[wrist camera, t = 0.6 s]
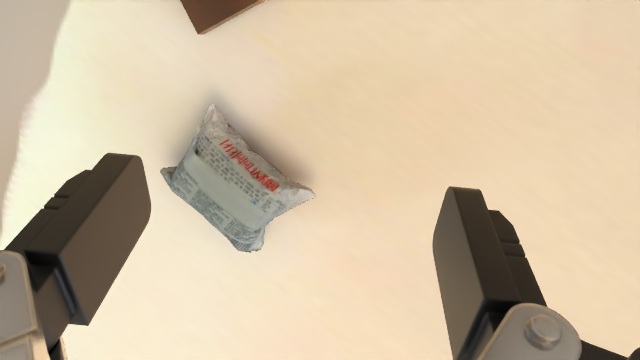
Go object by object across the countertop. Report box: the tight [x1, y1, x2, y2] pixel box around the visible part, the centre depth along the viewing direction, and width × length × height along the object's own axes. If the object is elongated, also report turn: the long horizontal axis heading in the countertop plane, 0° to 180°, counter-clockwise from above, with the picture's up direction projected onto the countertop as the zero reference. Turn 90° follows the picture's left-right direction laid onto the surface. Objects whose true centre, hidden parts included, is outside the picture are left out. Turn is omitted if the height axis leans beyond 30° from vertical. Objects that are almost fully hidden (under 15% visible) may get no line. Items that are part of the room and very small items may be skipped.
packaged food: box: [160, 104, 315, 253], centre depth 39 cm, size 9×12×5 cm
